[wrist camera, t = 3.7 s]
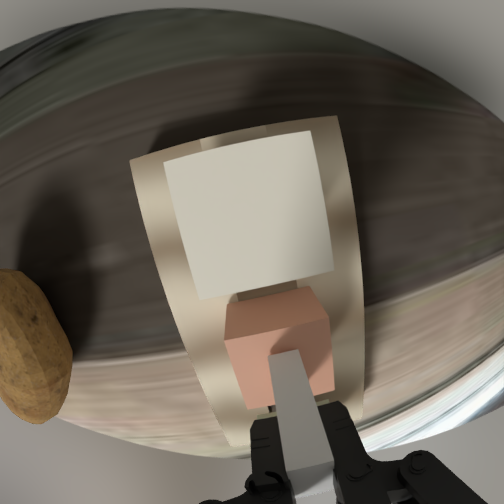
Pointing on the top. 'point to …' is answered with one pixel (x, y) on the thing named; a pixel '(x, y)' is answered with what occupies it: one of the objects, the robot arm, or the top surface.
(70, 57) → the top surface
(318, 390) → the block terracotta
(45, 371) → the potato
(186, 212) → the block cream
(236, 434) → the board
